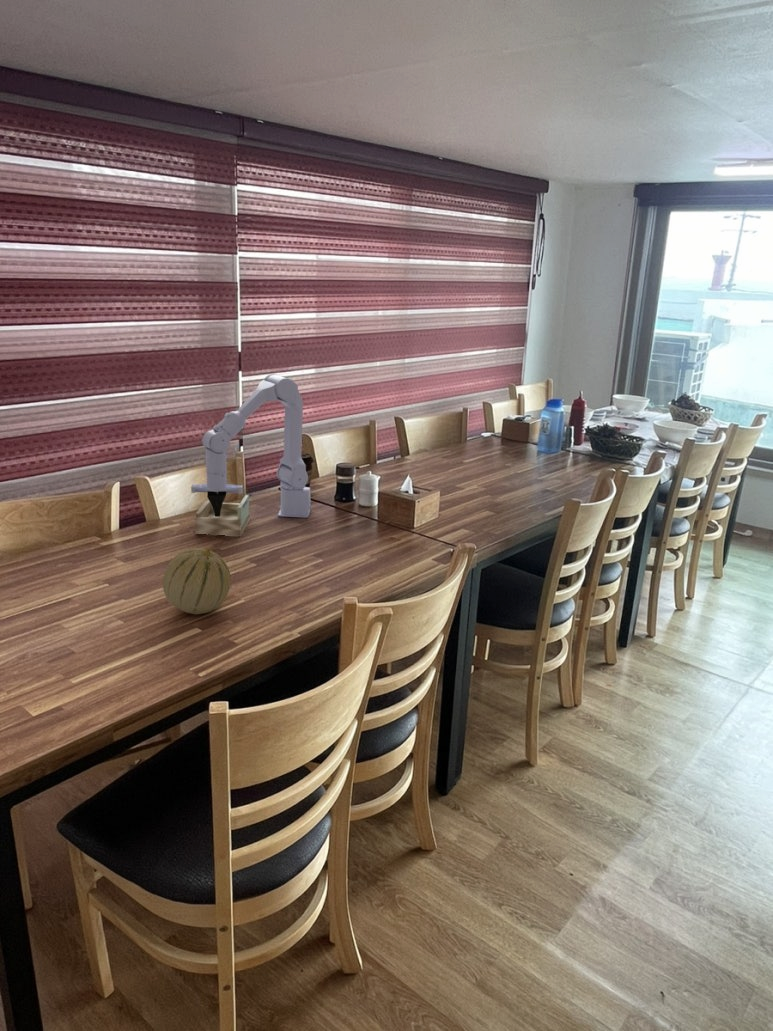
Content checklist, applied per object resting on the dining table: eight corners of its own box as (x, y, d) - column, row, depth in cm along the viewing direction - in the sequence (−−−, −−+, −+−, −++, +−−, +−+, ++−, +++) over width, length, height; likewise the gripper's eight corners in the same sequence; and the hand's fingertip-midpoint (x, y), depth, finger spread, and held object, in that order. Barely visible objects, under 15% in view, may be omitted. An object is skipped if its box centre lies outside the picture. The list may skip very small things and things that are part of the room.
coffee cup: (315, 488, 257) (316, 453, 253) (311, 495, 249) (311, 459, 245) (291, 486, 258) (291, 451, 254) (286, 493, 250) (286, 457, 246)
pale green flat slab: (249, 513, 222) (248, 495, 220) (241, 527, 210) (241, 507, 208) (245, 513, 222) (245, 495, 220) (237, 527, 210) (237, 507, 208)
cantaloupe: (152, 608, 165) (148, 546, 160) (209, 590, 174) (207, 532, 170) (186, 632, 155) (183, 567, 150) (244, 612, 165) (243, 551, 160)
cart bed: (250, 519, 224) (249, 500, 222) (240, 536, 209) (239, 517, 207) (208, 517, 224) (207, 498, 222) (195, 534, 209) (194, 514, 207)
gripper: (242, 468, 216) (243, 511, 220) (192, 467, 214) (194, 510, 218) (240, 474, 209) (241, 519, 213) (189, 474, 207) (191, 518, 212)
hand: (217, 515), depth 215 cm, fingers closed
